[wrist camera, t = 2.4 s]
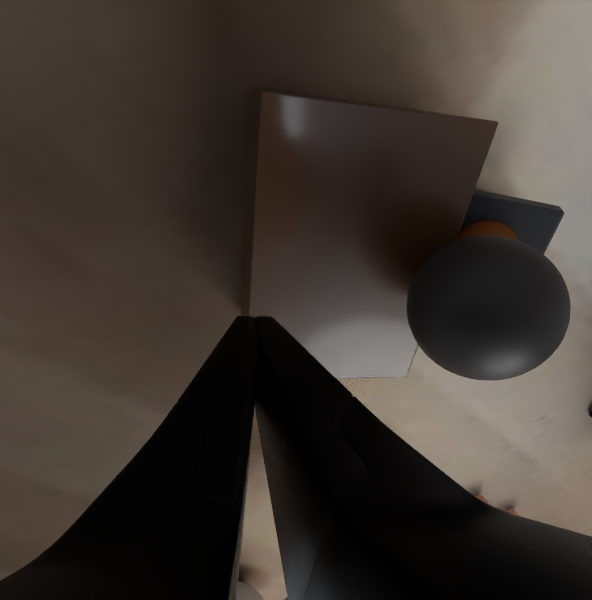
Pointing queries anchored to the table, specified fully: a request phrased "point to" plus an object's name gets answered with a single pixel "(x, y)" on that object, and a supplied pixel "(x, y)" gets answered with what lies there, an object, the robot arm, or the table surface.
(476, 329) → the ball-topped stamp
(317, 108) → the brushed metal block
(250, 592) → the white oval body
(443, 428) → the table surface
